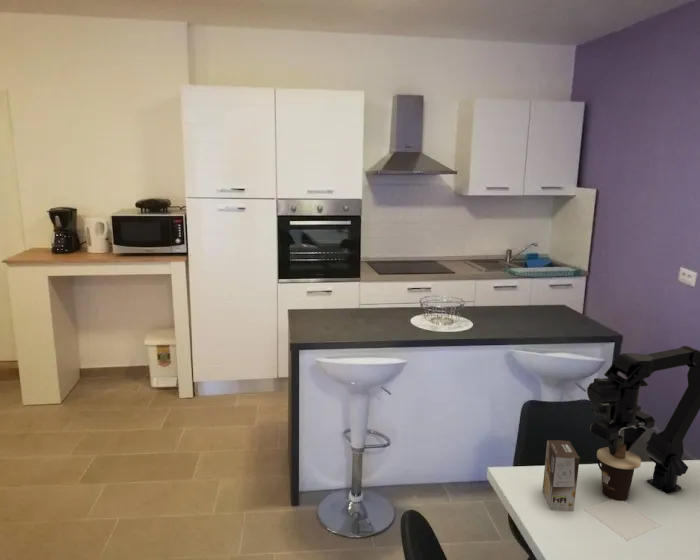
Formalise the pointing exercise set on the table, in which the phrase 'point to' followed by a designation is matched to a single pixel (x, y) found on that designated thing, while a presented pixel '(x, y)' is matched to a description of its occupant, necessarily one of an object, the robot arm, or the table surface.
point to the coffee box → (560, 475)
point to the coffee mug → (615, 481)
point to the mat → (622, 518)
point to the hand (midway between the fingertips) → (619, 452)
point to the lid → (619, 458)
